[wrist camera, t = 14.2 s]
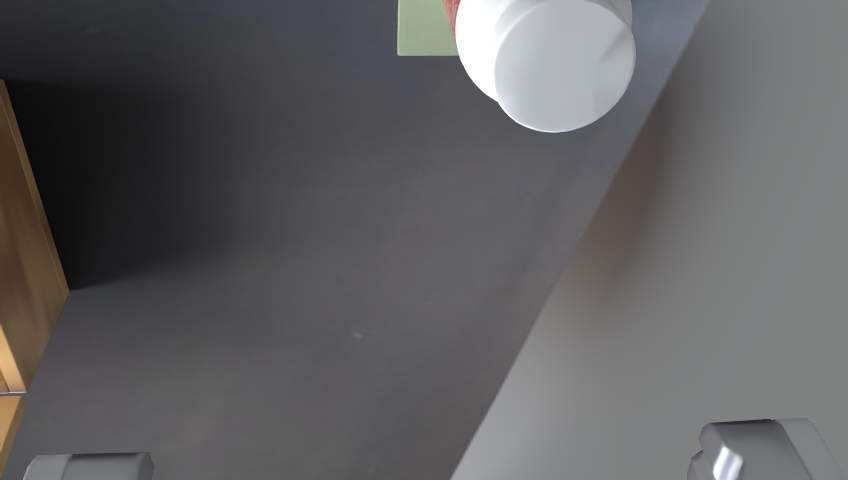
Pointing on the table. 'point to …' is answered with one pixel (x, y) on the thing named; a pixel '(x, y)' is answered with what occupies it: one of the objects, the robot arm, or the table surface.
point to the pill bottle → (547, 56)
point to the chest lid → (9, 424)
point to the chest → (24, 262)
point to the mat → (424, 29)
